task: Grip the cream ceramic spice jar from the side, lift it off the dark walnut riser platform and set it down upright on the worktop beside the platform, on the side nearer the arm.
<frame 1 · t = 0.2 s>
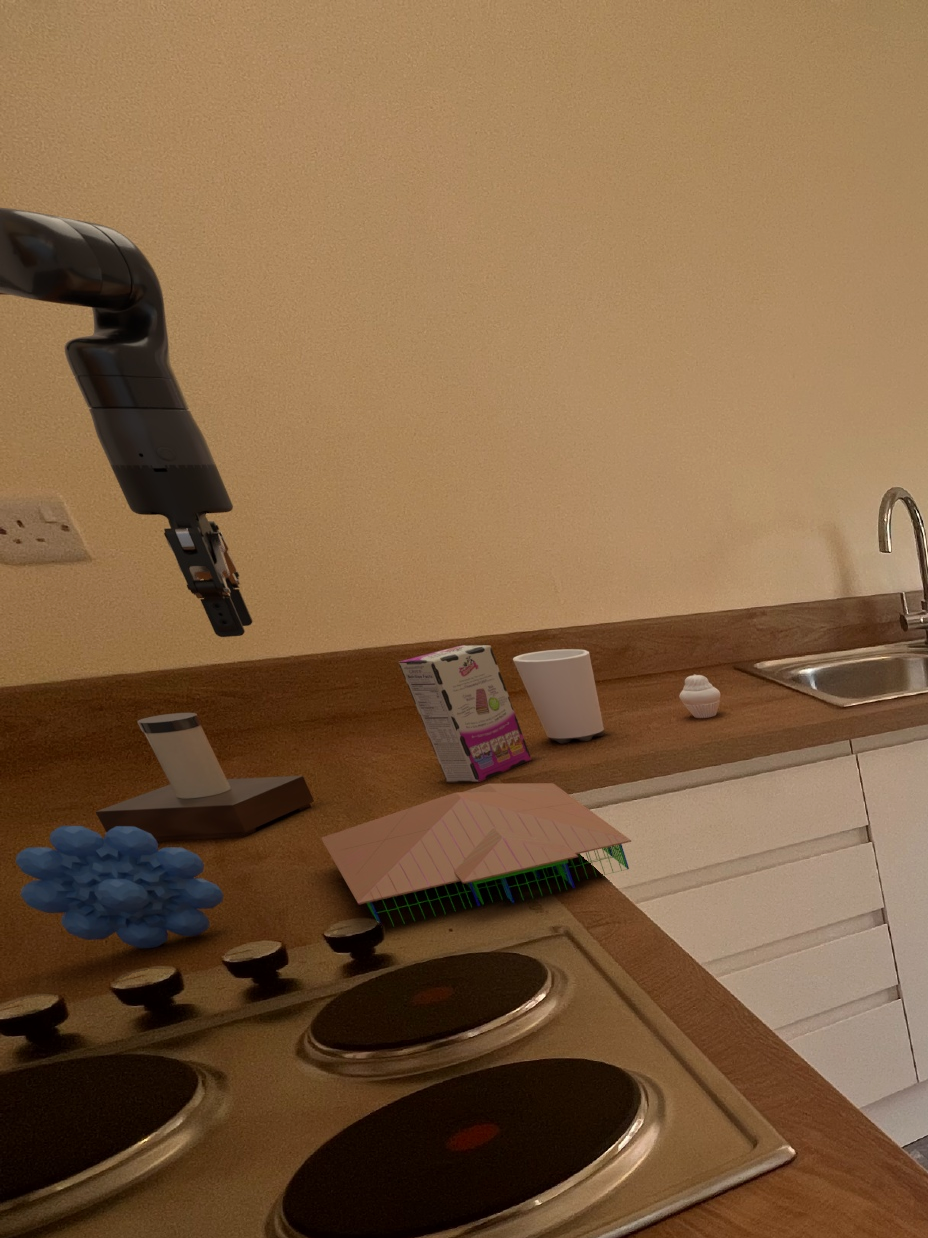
hand: (236, 630, 110), 24 cm above the counter, tool pointing down, fingers open, 8 cm apart
platform: (219, 824, 126), on the counter
blue flower: (156, 952, 94), on the counter
muffin: (705, 717, 175), on the counter
spice jar: (204, 792, 124), point 4 cm above the counter, touching platform
candy bar box: (489, 773, 146), on the counter
house: (484, 867, 113), on the counter
cup: (577, 739, 162), on the counter
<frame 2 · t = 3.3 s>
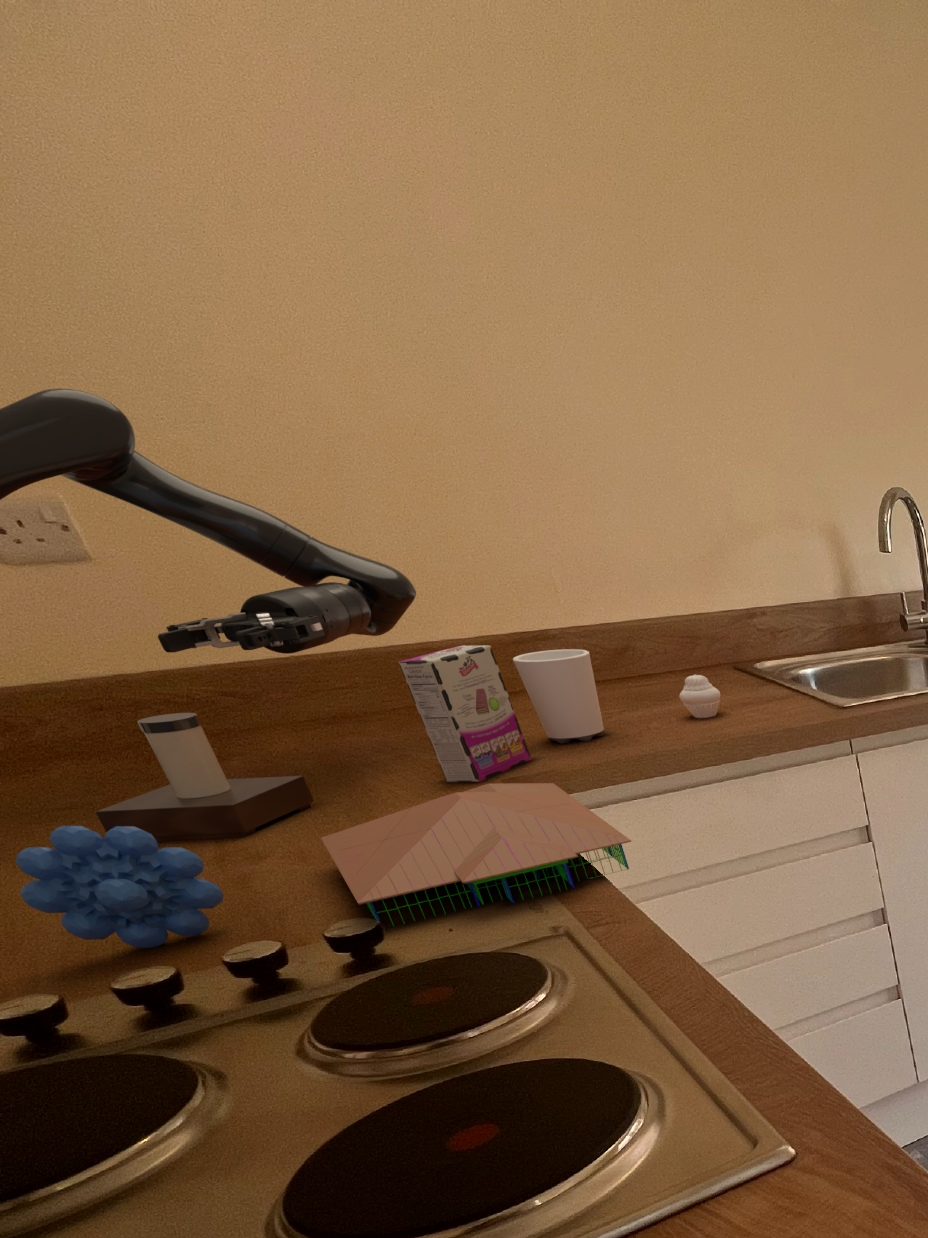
hand: (203, 642, 125), 20 cm above the counter, tool horizontal, fingers open, 8 cm apart
nothing on the counter moved.
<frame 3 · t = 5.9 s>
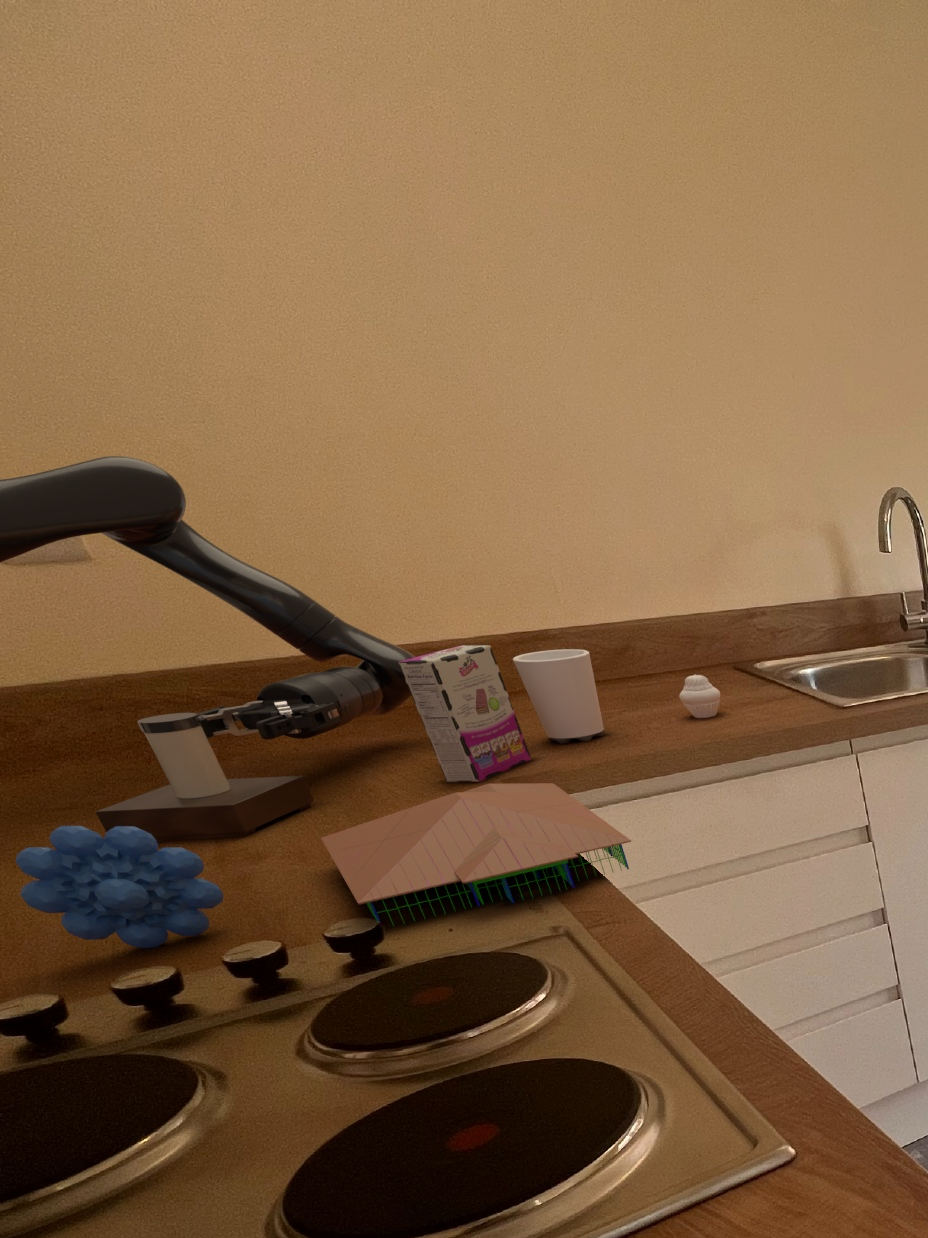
hand: (223, 733, 127), 10 cm above the counter, tool horizontal, fingers open, 8 cm apart
nothing on the counter moved.
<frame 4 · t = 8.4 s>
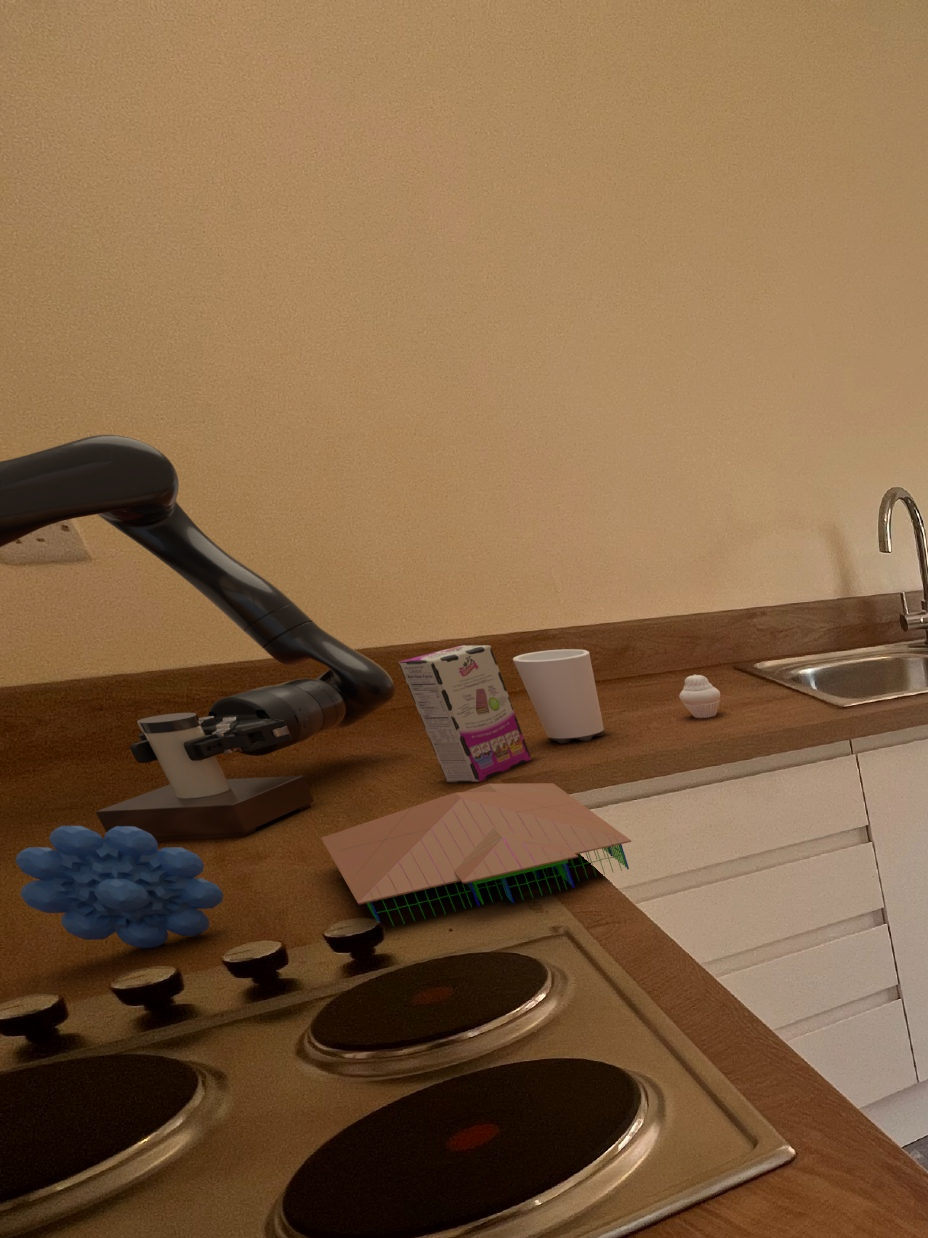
hand: (164, 753, 119), 10 cm above the counter, tool horizontal, fingers closed on spice jar, 5 cm apart
spice jar: (204, 792, 124), point 4 cm above the counter, touching gripper, platform
everything else where it was.
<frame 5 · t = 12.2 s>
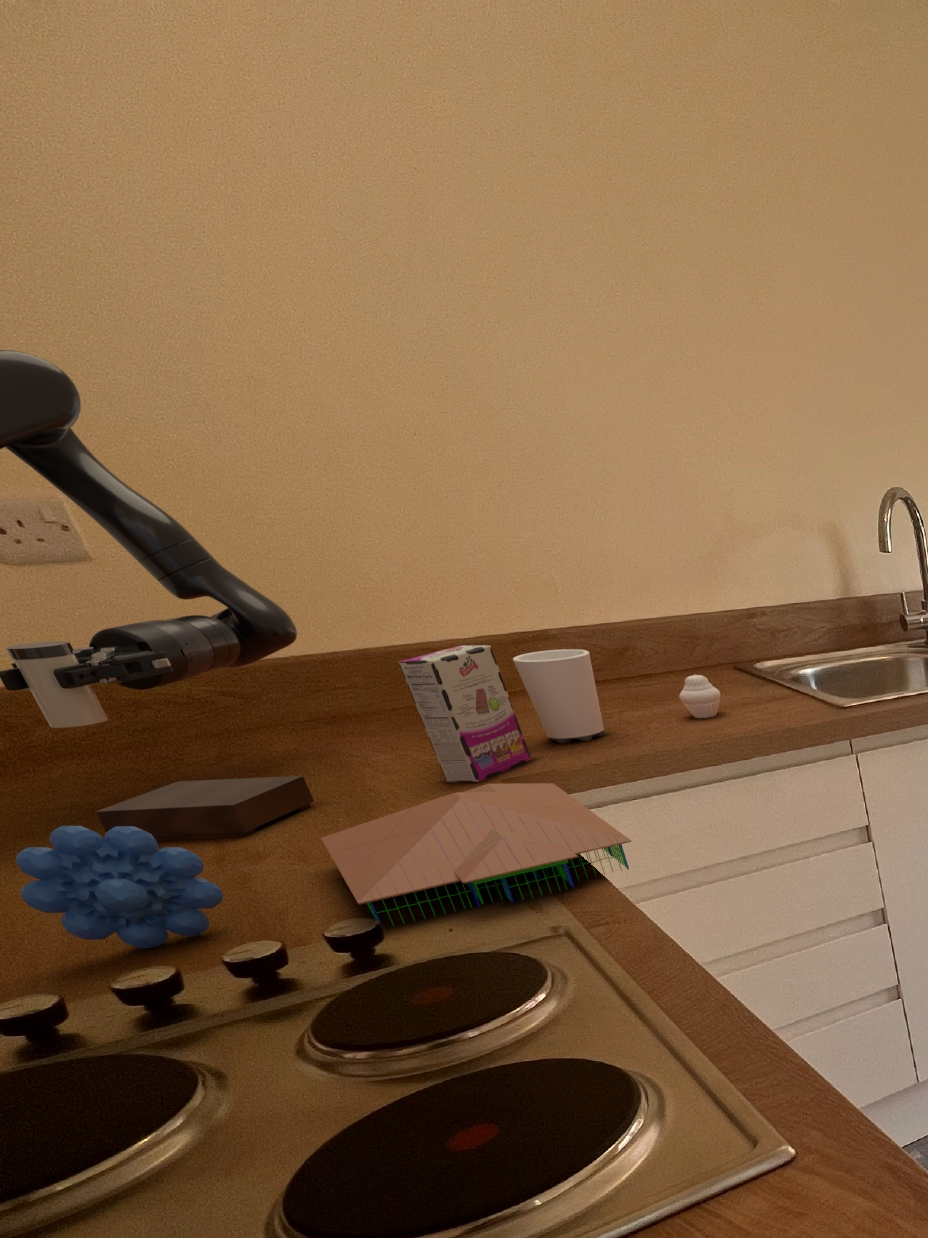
hand: (34, 680, 118), 17 cm above the counter, tool horizontal, fingers closed on spice jar, 5 cm apart
spice jar: (79, 722, 123), point 12 cm above the counter, touching gripper
everything else where it was.
when the fingers open (6 cm above the counter, at t = 16.1 s): spice jar stays where it is, on the counter.
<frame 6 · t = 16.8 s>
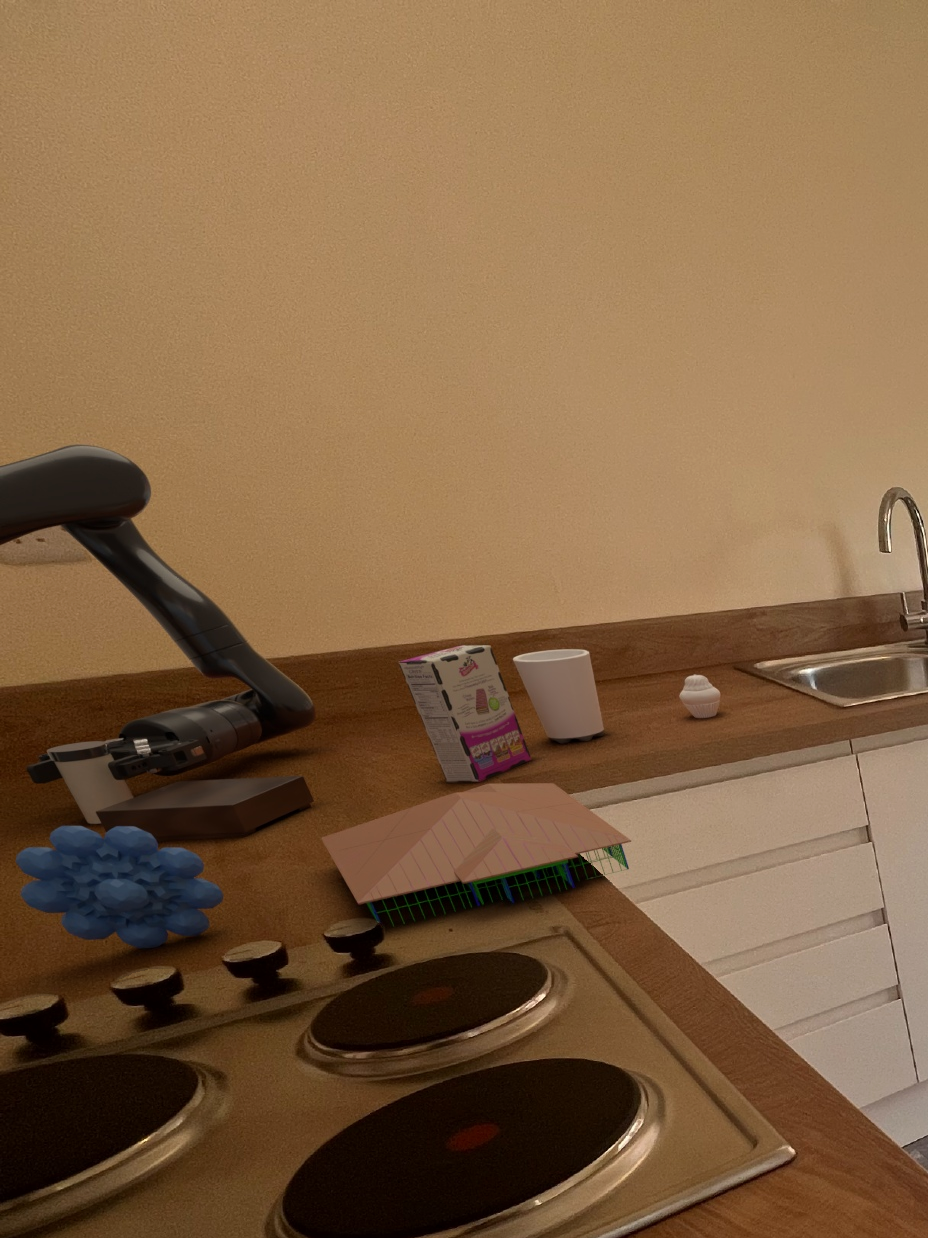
hand: (74, 773, 124), 6 cm above the counter, tool horizontal, fingers open, 8 cm apart
spice jar: (115, 818, 128), on the counter
everything else where it was.
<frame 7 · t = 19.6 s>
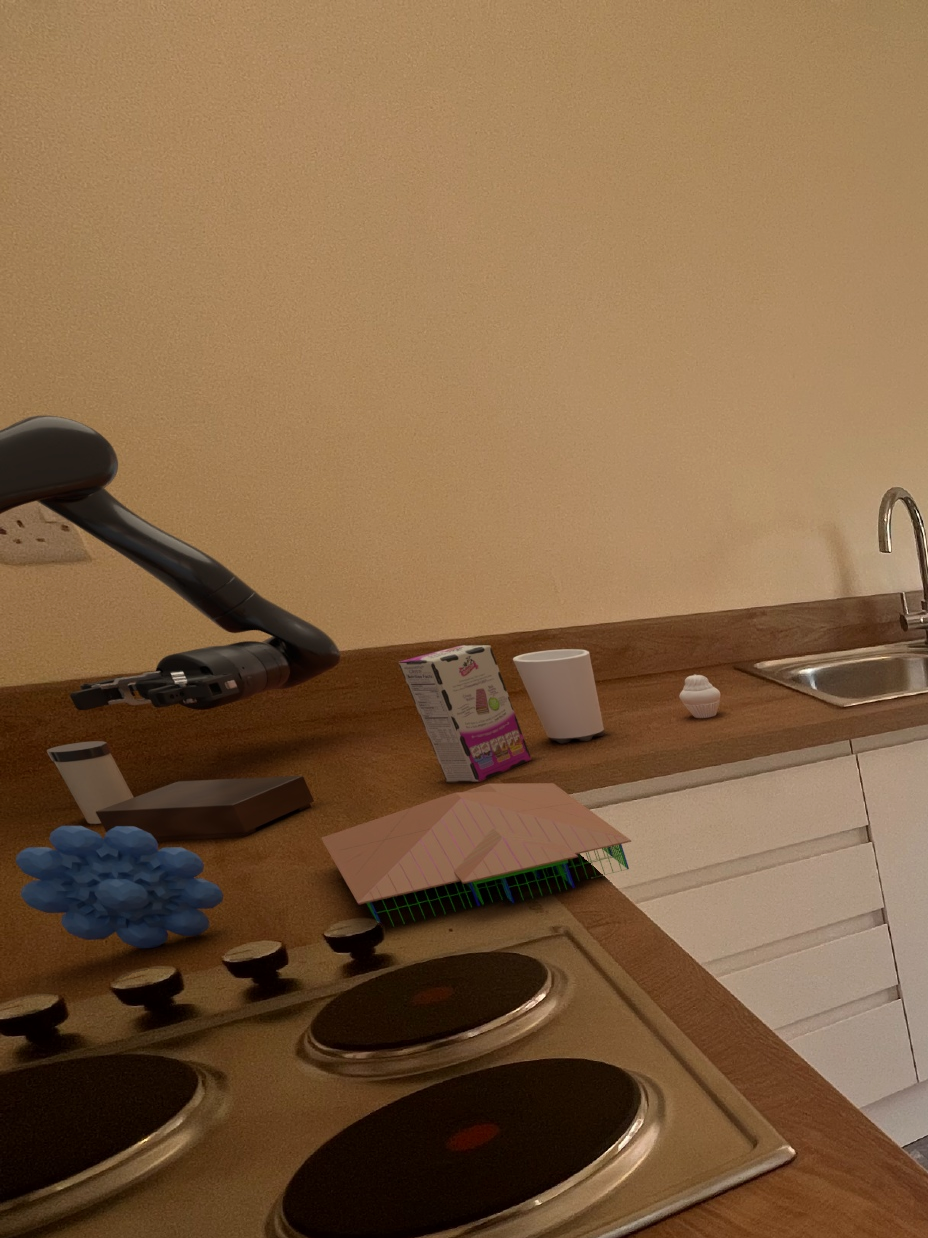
hand: (115, 700, 130), 13 cm above the counter, tool horizontal, fingers open, 8 cm apart
nothing on the counter moved.
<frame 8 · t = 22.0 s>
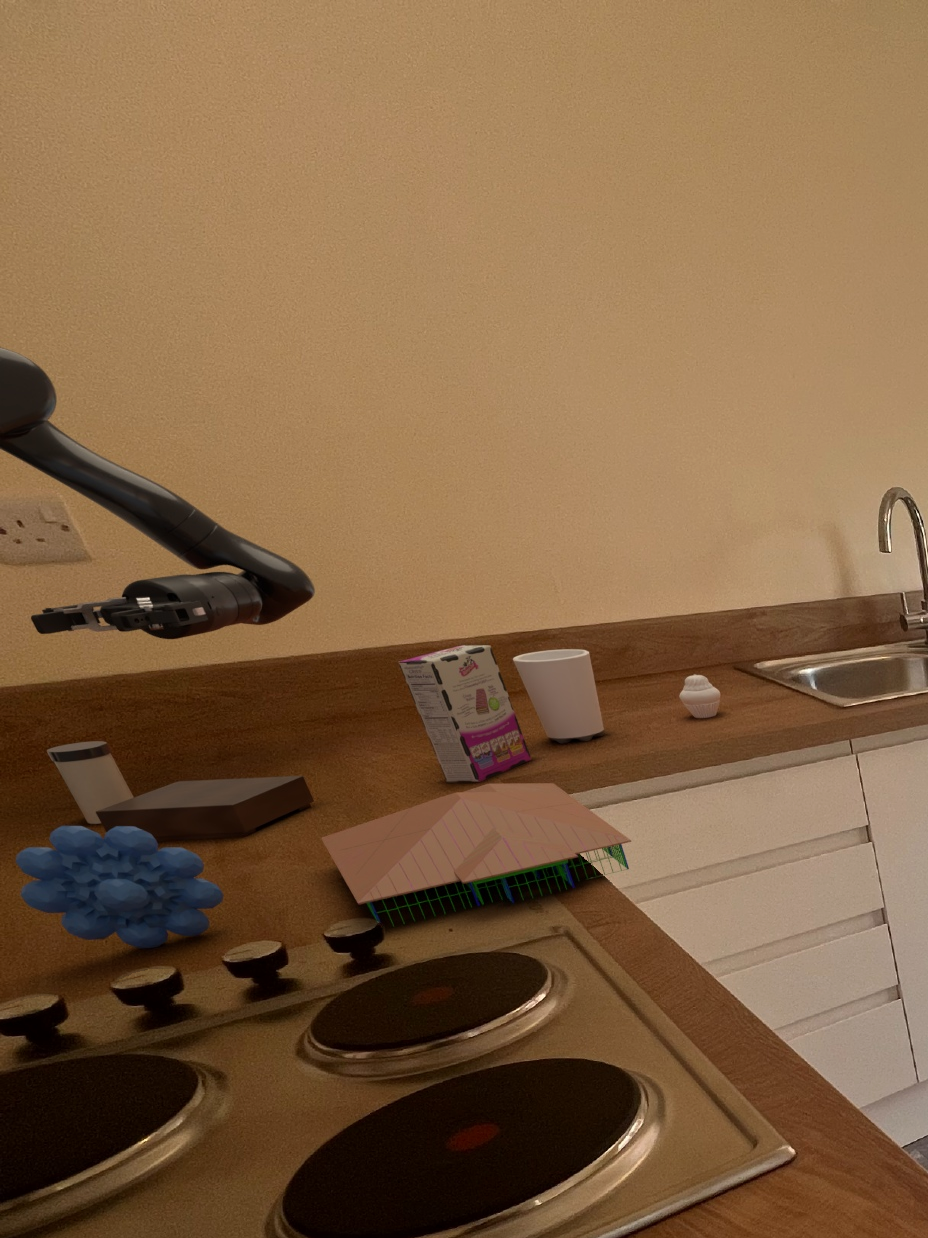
hand: (77, 623, 126), 22 cm above the counter, tool horizontal, fingers open, 8 cm apart
nothing on the counter moved.
at the end: spice jar on the counter; spice jar inside the target area (0.5 cm from its centre), on the counter; spice jar tilted 0° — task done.
